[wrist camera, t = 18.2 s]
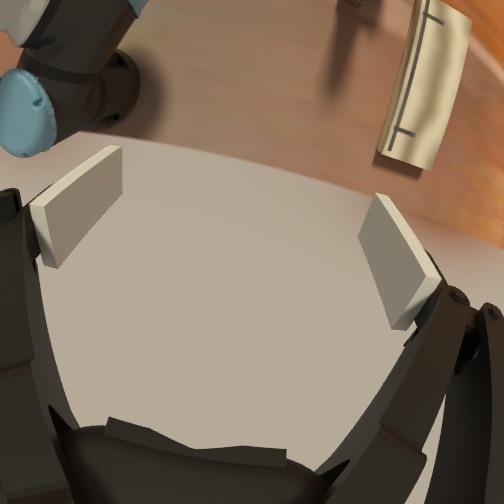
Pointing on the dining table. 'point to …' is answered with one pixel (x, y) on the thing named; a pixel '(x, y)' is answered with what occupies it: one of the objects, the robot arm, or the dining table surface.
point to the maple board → (426, 83)
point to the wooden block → (357, 2)
